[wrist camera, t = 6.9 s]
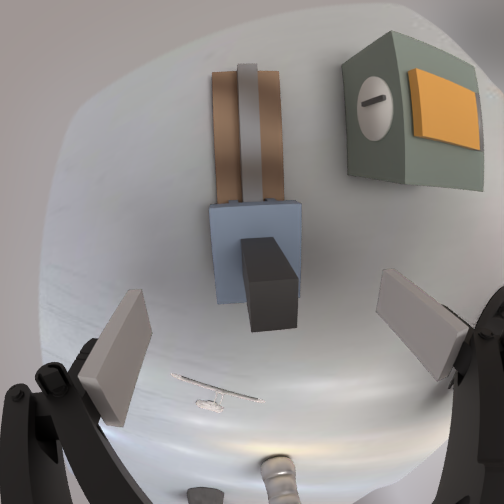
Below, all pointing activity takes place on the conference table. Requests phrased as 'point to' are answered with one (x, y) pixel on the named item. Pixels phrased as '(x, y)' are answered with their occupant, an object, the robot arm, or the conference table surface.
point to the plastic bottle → (280, 480)
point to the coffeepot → (205, 496)
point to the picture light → (213, 405)
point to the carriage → (258, 259)
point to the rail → (231, 136)
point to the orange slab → (445, 111)
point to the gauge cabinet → (403, 117)
